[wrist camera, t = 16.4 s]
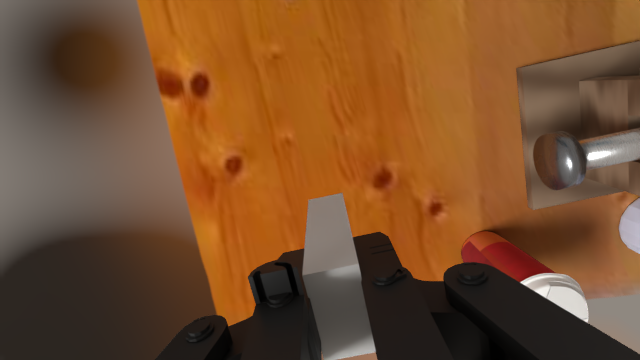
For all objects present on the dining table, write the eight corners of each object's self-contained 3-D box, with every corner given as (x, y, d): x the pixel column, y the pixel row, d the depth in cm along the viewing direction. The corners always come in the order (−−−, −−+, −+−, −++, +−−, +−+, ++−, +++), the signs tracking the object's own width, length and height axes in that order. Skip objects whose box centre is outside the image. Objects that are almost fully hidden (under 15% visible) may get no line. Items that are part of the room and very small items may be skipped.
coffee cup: (482, 289, 51) (548, 369, 36) (440, 255, 49) (491, 324, 35) (526, 246, 49) (614, 312, 35) (483, 210, 48) (556, 263, 33)
